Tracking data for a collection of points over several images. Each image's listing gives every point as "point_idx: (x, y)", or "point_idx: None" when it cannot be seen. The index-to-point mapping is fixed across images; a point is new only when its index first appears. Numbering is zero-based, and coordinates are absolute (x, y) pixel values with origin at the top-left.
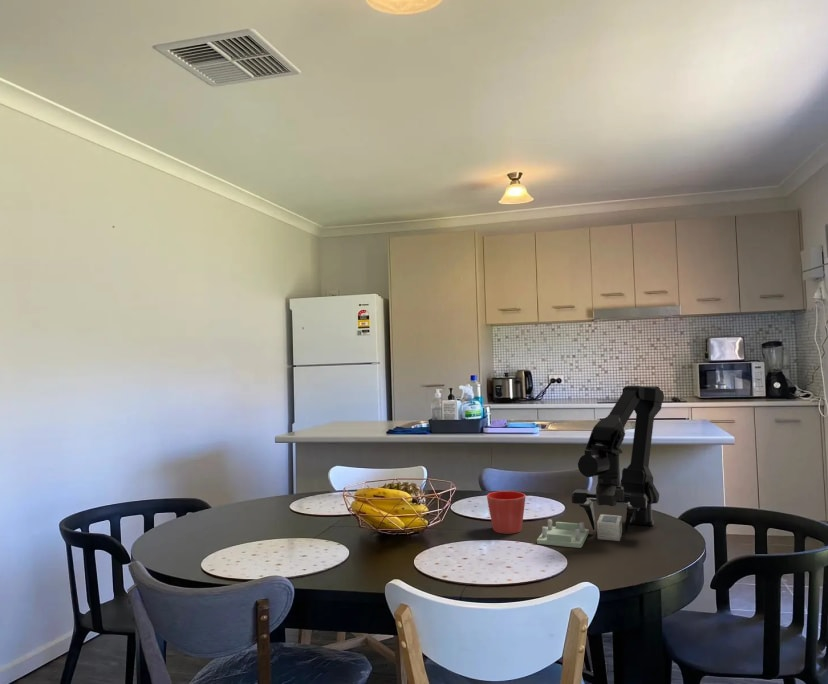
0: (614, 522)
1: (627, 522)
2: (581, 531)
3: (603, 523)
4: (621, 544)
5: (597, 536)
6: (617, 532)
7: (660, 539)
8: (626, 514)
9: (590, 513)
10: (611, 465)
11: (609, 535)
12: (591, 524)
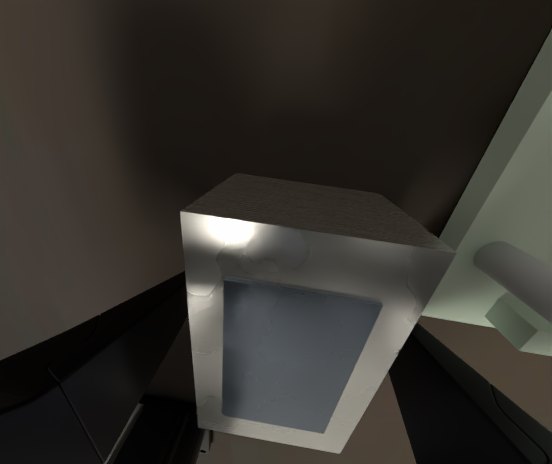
0: (239, 273)
1: (132, 309)
2: (513, 246)
3: (371, 237)
4: (220, 73)
5: (386, 199)
6: (233, 188)
7: (39, 241)
8: (56, 383)
9: (525, 443)
10: None
11: (301, 188)
12: (426, 330)
